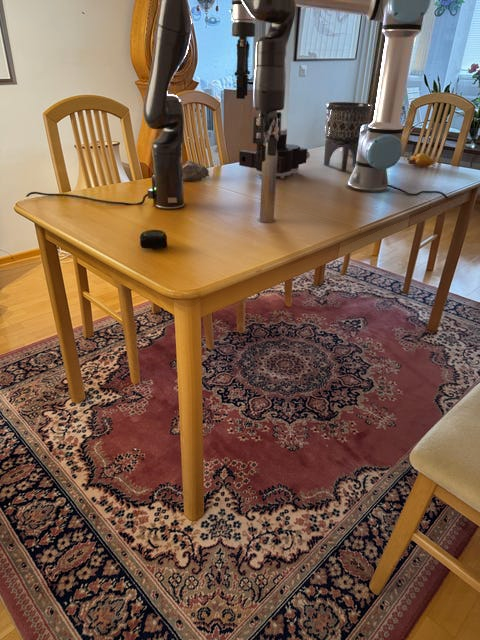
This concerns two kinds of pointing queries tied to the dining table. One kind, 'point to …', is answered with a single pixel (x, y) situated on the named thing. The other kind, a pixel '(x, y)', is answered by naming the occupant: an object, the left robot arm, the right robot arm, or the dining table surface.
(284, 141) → the mechanical component
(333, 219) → the dining table surface
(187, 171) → the rock
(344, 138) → the planter
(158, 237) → the tape measure
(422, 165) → the toy
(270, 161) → the bottle
